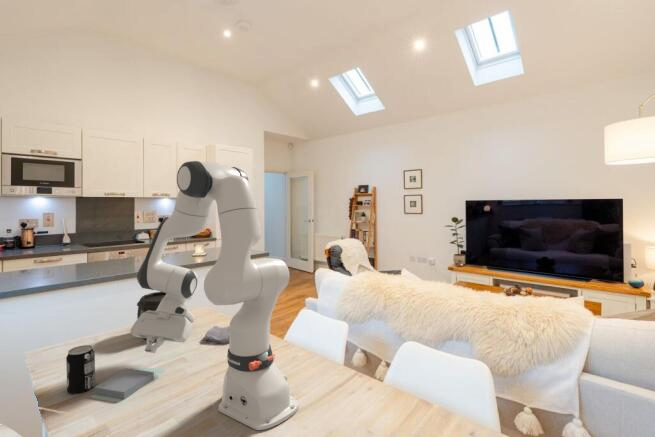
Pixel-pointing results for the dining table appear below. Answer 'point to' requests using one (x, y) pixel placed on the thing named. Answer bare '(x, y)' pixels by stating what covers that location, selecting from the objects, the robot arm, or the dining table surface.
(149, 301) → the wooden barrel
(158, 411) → the dining table surface
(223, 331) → the stone block
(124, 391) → the slate tile
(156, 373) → the mat
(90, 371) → the beverage can
